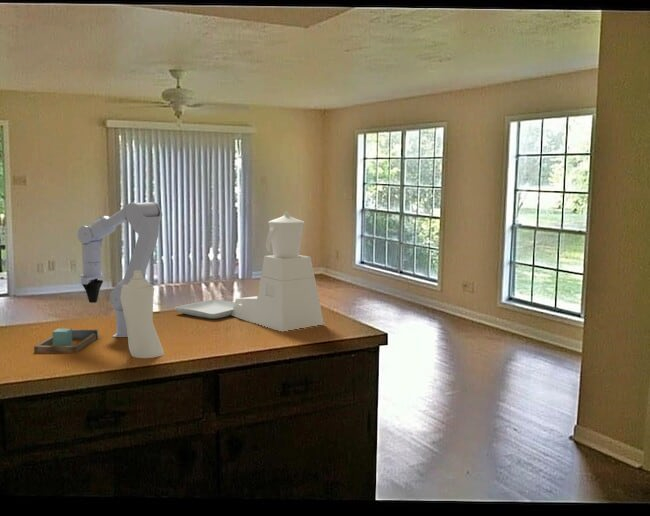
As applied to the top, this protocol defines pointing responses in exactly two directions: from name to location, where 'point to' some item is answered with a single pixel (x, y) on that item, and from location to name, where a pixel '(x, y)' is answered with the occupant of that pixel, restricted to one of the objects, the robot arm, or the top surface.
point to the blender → (283, 283)
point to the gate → (83, 334)
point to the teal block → (62, 337)
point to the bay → (47, 348)
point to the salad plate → (208, 309)
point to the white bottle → (140, 317)
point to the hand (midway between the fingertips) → (93, 302)
